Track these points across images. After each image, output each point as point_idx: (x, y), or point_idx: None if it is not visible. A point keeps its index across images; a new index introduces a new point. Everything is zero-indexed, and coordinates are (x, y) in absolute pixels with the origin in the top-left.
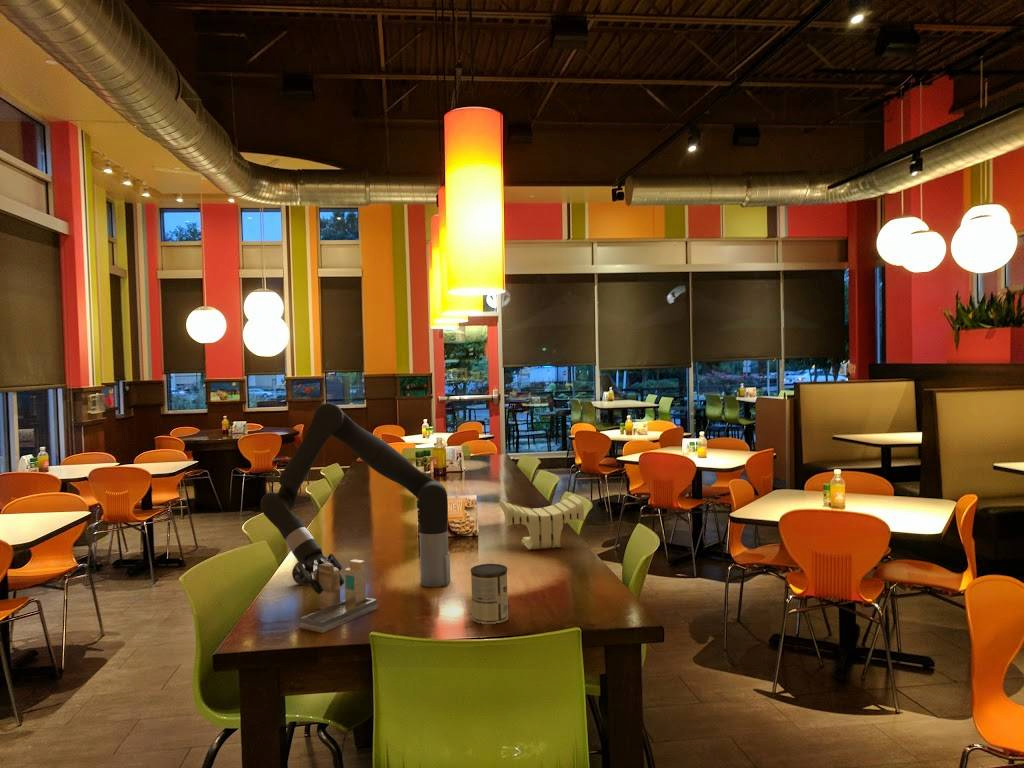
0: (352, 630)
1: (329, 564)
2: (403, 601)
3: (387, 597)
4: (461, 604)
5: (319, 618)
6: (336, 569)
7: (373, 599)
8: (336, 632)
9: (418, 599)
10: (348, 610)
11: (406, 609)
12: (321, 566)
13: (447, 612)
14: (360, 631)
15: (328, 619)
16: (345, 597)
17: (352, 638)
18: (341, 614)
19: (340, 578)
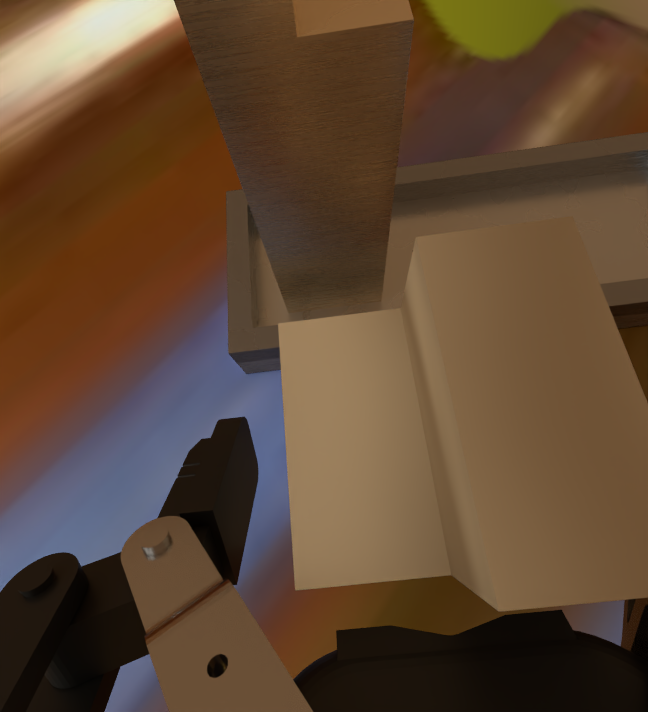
0: (520, 107)
1: (455, 346)
2: (90, 212)
3: (61, 321)
4: (39, 35)
5: (621, 260)
6: (288, 377)
7: (234, 206)
8: (592, 134)
9: (37, 182)
10: (461, 170)
11: (181, 130)
12: (644, 459)
13: (140, 15)
14: (501, 79)
15: (636, 141)
16: (385, 262)
17: (573, 49)
18: (531, 150)
19: (232, 443)
